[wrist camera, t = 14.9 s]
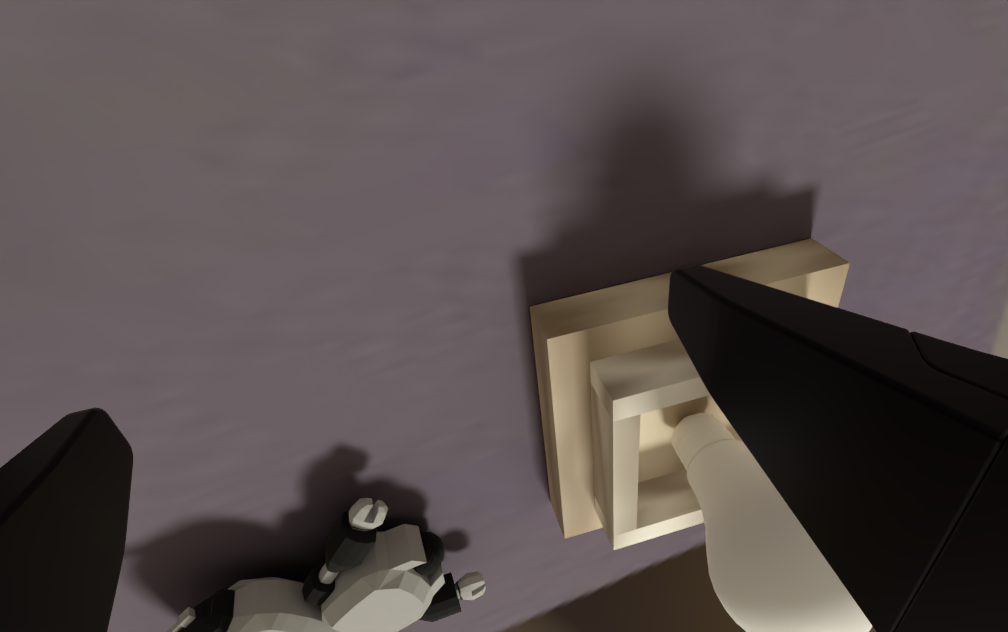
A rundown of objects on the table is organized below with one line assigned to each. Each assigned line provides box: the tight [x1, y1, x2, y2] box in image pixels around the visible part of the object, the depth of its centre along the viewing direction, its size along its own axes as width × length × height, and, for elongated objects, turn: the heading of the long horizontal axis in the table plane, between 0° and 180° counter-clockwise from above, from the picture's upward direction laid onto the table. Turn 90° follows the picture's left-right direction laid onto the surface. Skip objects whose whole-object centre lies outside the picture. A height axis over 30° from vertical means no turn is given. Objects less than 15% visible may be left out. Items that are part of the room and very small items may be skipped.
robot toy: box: [167, 498, 486, 632], centre depth 31 cm, size 12×4×15 cm
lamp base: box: [530, 238, 850, 550], centre depth 29 cm, size 14×14×5 cm
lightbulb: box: [671, 413, 872, 632], centre depth 24 cm, size 6×6×11 cm
